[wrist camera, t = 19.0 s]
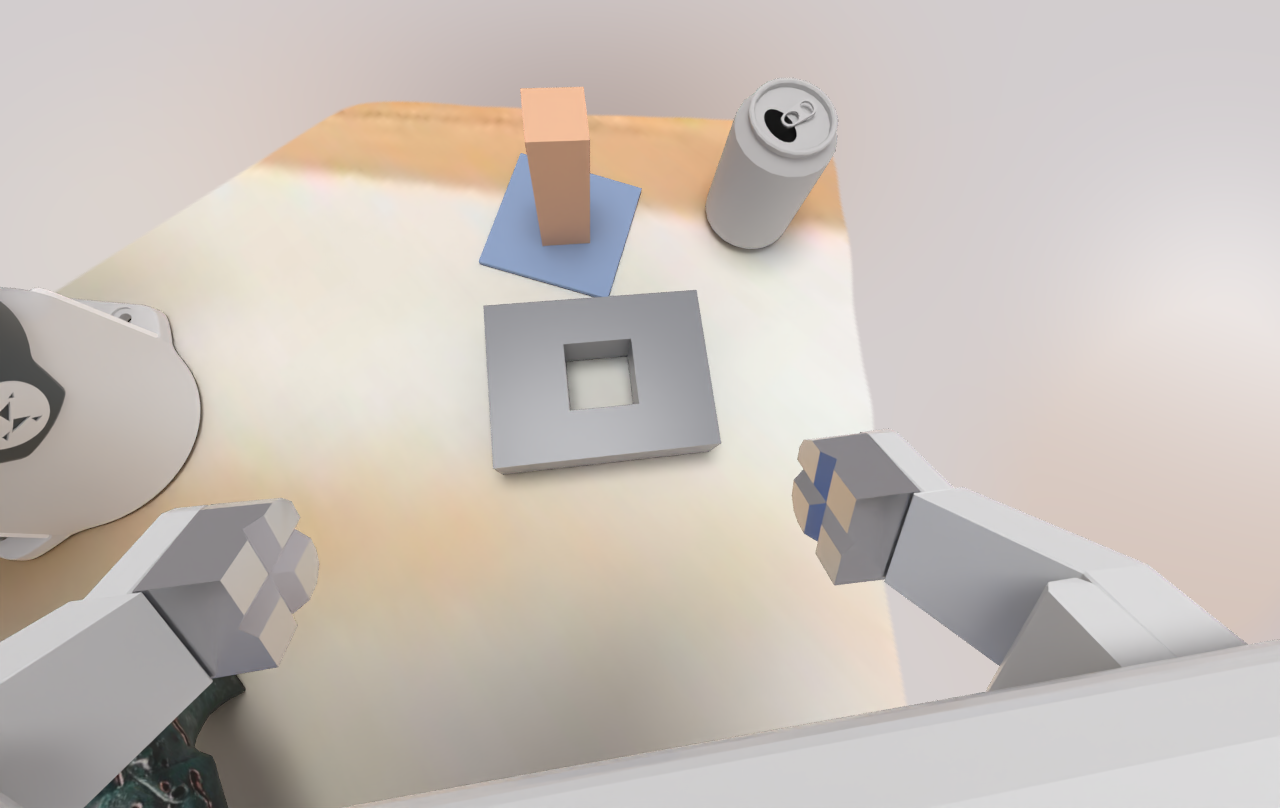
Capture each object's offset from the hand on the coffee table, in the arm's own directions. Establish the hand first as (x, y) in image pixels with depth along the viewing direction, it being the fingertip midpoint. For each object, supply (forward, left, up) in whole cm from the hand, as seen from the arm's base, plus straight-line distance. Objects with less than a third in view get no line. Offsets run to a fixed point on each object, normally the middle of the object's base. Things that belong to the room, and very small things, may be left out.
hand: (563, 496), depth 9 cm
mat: (-9, +23, -31) cm, 40 cm away
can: (+6, +29, -32) cm, 44 cm away
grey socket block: (-2, +10, -31) cm, 33 cm away
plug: (-9, +23, -31) cm, 40 cm away
